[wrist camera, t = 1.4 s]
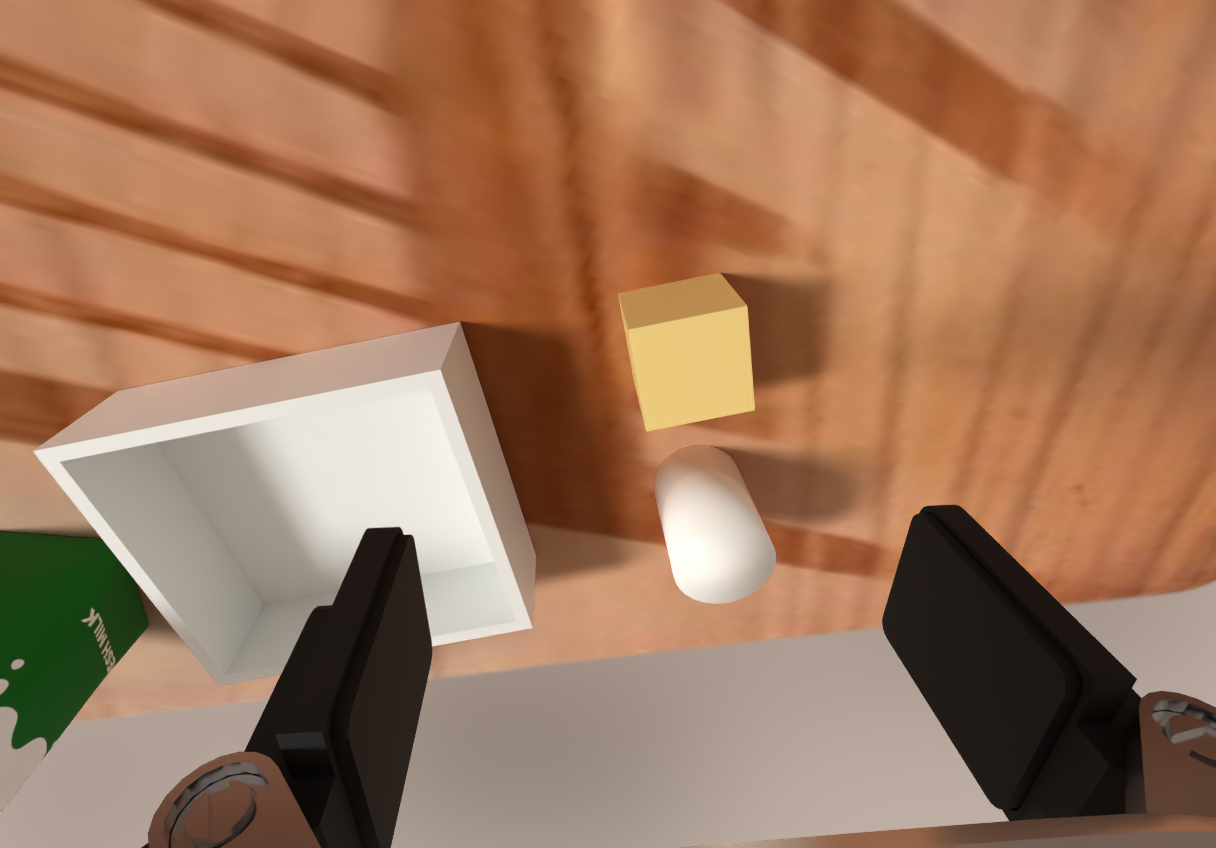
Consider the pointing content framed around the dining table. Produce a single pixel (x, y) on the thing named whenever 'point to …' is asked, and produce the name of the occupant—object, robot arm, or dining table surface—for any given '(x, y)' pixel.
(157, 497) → the tote
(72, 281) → the dining table surface
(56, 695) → the milk carton
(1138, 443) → the dining table surface
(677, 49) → the dining table surface
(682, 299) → the mustard block
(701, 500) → the white canister
